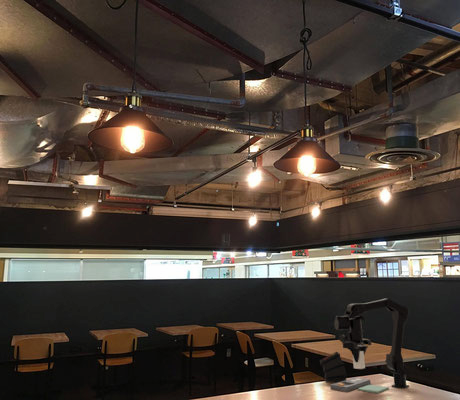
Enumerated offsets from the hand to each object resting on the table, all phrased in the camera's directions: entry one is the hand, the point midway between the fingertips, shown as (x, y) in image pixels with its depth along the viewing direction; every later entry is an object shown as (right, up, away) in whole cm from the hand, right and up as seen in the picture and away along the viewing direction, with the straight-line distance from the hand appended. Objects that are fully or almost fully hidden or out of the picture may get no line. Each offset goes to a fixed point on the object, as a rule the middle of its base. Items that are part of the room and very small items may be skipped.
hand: (358, 361), depth 214 cm
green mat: (+5, -12, -5) cm, 14 cm away
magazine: (-9, -17, +15) cm, 24 cm away
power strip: (-2, -14, +4) cm, 15 cm away
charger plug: (0, -3, -1) cm, 3 cm away
